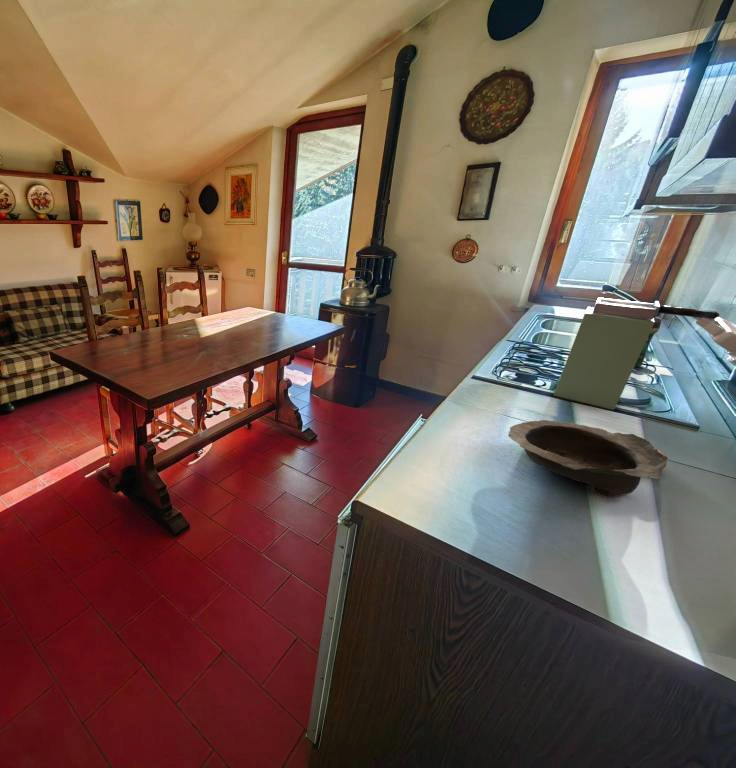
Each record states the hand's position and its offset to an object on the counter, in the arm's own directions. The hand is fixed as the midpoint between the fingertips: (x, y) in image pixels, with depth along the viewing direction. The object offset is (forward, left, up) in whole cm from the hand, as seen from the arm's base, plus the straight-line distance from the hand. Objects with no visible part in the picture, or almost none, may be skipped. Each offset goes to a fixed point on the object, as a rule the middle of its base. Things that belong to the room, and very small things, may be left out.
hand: (696, 316), depth 100 cm
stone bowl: (-17, +52, -28) cm, 61 cm away
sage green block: (+12, +8, -28) cm, 31 cm away
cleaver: (+7, +5, -1) cm, 8 cm away
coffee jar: (+32, -39, -28) cm, 58 cm away
